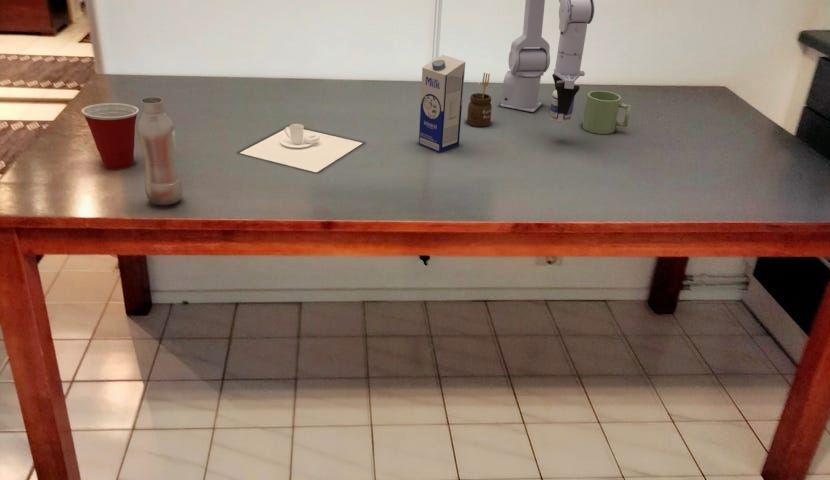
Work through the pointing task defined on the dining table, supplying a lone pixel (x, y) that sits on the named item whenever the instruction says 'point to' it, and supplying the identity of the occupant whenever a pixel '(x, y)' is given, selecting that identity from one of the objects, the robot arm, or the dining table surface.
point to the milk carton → (441, 103)
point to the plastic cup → (113, 132)
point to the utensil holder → (480, 107)
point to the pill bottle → (554, 109)
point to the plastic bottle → (159, 153)
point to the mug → (603, 112)
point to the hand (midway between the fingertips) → (561, 109)
